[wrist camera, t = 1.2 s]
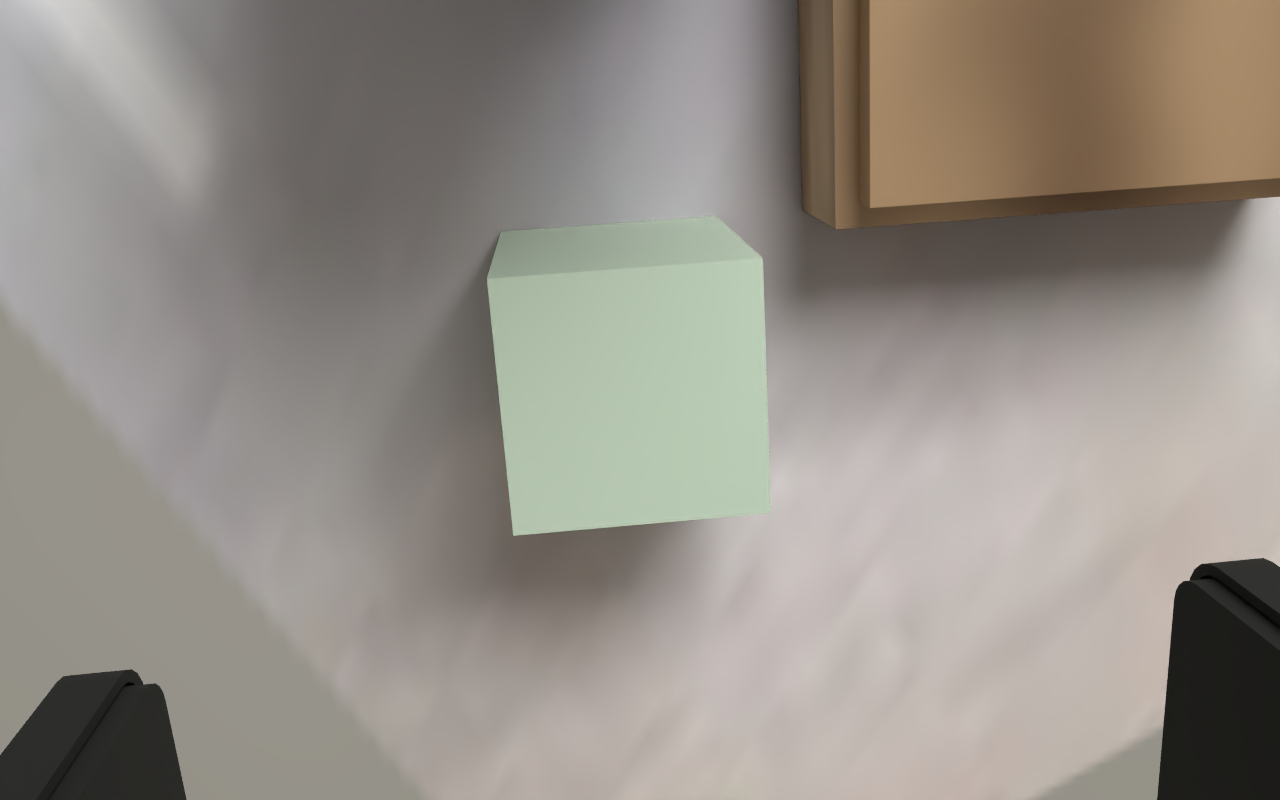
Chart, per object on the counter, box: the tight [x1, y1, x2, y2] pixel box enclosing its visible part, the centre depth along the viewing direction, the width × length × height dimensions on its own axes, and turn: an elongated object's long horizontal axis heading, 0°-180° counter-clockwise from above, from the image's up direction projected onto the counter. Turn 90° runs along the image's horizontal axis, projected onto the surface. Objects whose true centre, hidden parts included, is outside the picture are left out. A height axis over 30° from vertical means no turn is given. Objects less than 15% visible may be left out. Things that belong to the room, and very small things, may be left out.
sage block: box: [487, 216, 771, 536], centre depth 24 cm, size 5×5×6 cm
